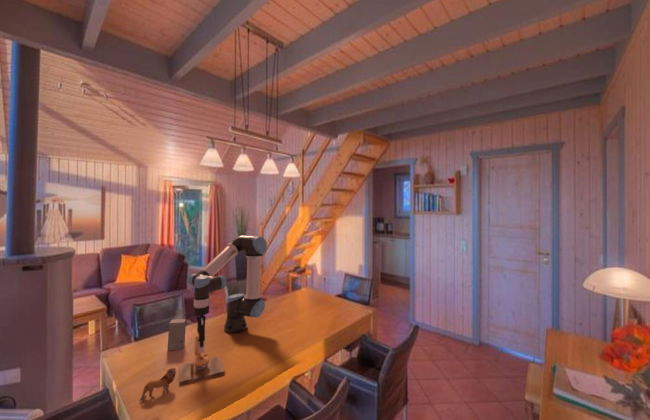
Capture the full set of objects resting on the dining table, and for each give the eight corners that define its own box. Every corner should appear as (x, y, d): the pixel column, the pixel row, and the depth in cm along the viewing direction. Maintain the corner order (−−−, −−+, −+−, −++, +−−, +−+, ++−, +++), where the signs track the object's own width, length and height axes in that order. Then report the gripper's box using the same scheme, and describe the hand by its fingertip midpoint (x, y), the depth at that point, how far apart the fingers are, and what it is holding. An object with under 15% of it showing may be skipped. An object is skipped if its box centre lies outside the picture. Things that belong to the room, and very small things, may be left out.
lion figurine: (172, 383, 133) (173, 364, 133) (178, 388, 130) (178, 368, 130) (137, 399, 121) (137, 378, 121) (142, 405, 118) (142, 383, 118)
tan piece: (210, 363, 143) (211, 342, 143) (196, 367, 139) (196, 345, 139) (204, 352, 153) (204, 333, 153) (190, 356, 149) (190, 336, 149)
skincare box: (167, 351, 163) (167, 323, 163) (170, 345, 170) (171, 319, 170) (183, 349, 165) (183, 322, 166) (185, 344, 172) (186, 317, 172)
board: (220, 359, 155) (220, 348, 155) (224, 374, 141) (224, 362, 141) (179, 368, 146) (179, 356, 146) (179, 385, 132) (179, 372, 132)
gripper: (211, 311, 143) (210, 356, 143) (207, 299, 162) (206, 339, 162) (194, 313, 140) (194, 359, 140) (192, 301, 158) (191, 342, 158)
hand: (200, 348), depth 151 cm, fingers open, 8 cm apart
